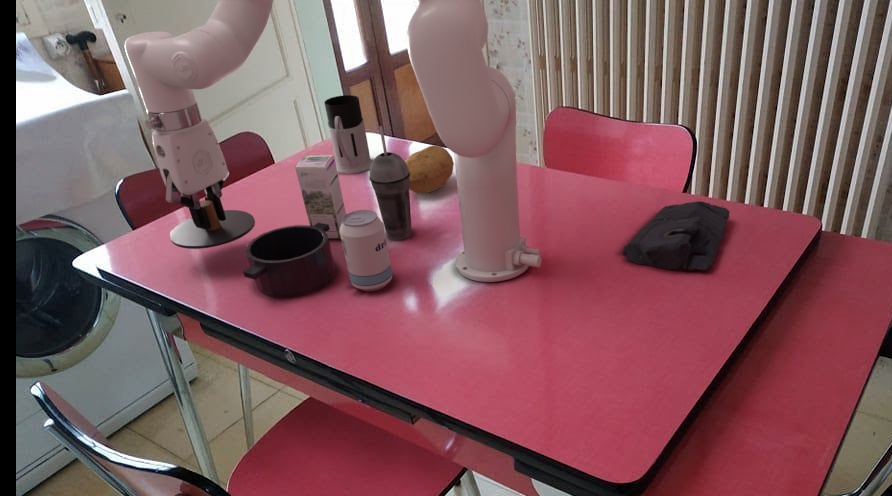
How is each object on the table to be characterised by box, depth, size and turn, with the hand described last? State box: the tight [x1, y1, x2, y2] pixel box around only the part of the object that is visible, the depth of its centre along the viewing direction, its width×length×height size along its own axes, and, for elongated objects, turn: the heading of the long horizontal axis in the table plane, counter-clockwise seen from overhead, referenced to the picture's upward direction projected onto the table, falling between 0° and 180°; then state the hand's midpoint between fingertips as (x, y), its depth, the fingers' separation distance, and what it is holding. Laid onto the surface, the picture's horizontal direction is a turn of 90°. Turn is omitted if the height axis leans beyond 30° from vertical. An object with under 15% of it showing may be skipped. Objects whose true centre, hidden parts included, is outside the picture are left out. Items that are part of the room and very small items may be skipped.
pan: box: [242, 223, 336, 299], centre depth 116 cm, size 13×19×7 cm
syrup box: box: [294, 154, 347, 240], centre depth 127 cm, size 6×6×14 cm
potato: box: [404, 145, 455, 195], centre depth 143 cm, size 10×14×8 cm
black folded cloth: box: [621, 200, 730, 272], centre depth 118 cm, size 15×22×5 cm
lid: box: [169, 199, 256, 250], centre depth 120 cm, size 14×14×6 cm
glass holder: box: [324, 94, 373, 175], centre depth 153 cm, size 9×14×15 cm, turn 1°
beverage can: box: [340, 209, 393, 292], centre depth 111 cm, size 7×7×12 cm
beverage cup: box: [369, 125, 412, 241], centre depth 123 cm, size 7×7×20 cm
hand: (211, 222), depth 121 cm, fingers closed on lid, 2 cm apart
